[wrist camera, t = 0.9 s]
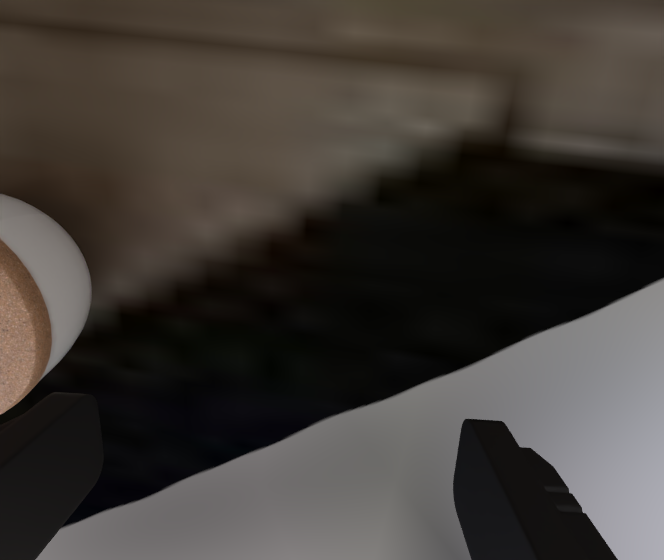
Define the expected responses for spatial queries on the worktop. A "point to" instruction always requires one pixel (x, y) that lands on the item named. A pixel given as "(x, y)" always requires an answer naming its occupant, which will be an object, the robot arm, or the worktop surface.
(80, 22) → the worktop surface
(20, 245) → the lidded bowl
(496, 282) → the worktop surface
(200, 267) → the worktop surface
